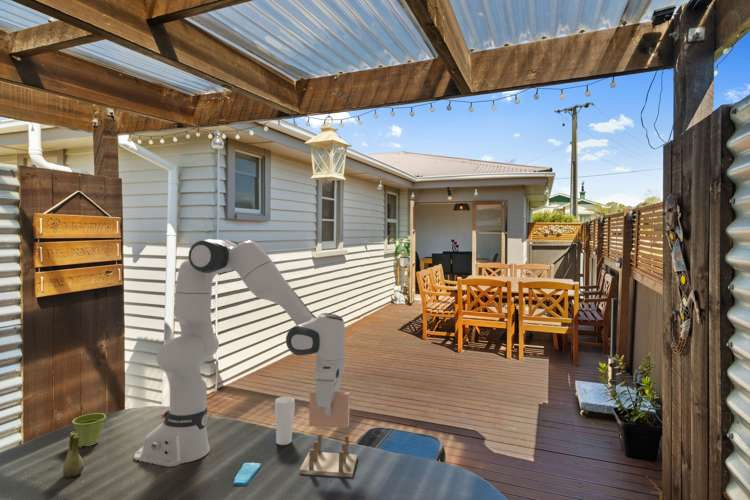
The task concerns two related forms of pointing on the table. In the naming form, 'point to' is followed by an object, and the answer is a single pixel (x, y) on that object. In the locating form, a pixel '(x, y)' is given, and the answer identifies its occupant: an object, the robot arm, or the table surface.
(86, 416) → the plant pot
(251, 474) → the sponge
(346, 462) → the slot rack
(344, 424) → the ceramic tile
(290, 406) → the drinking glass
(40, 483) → the table surface
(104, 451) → the table surface
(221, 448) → the table surface
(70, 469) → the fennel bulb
